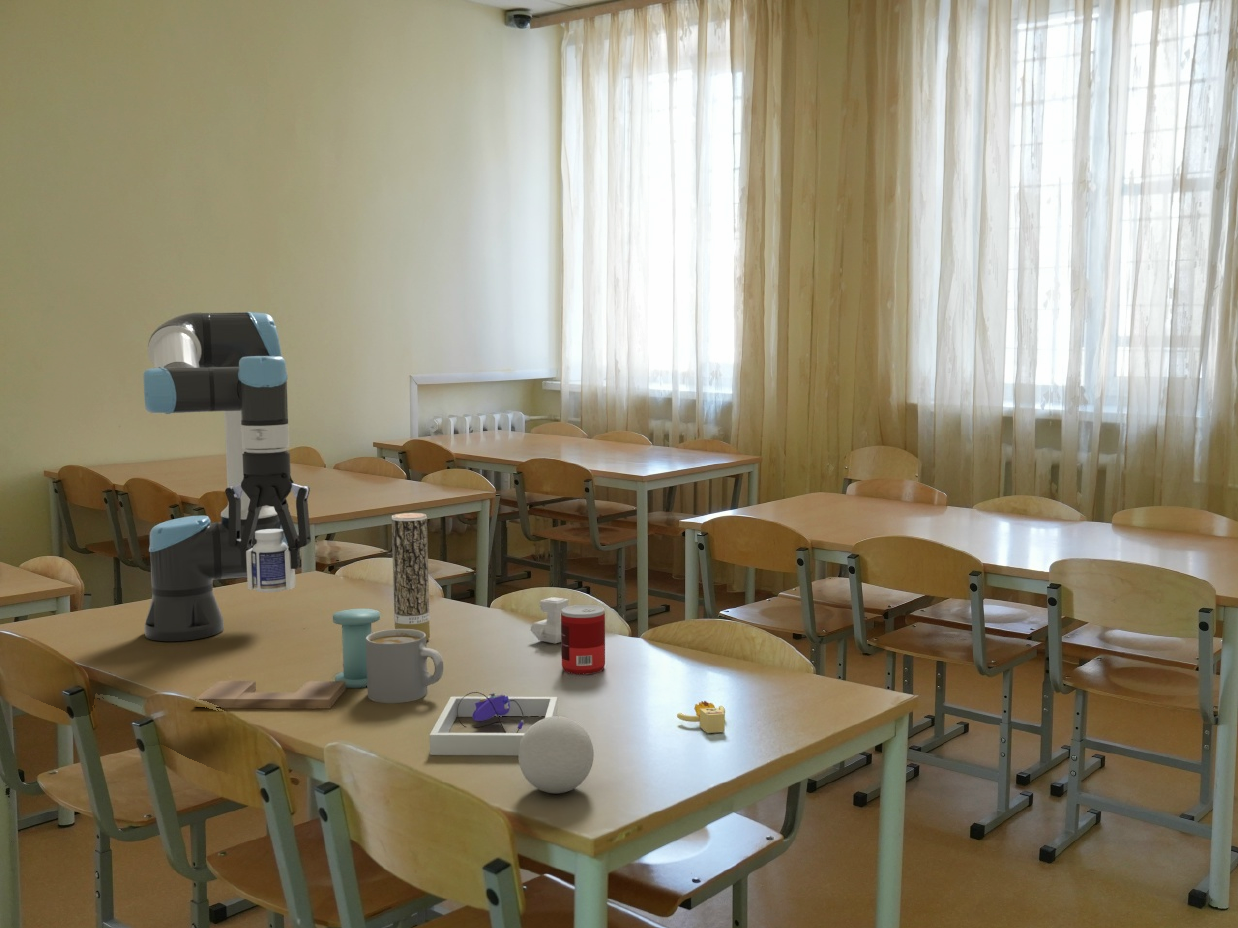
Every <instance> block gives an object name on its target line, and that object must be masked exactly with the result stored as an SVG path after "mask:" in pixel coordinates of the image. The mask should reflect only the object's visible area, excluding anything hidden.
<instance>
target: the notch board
mask: <svg viewBox="0 0 1238 928" xmlns="http://www.w3.org/2000/svg"><path fill="white" fill-rule="evenodd" d="M256 686H257V685H256V680H217V681H216V682H215V683H214V684H212V685H211V686H210V687H209V688H208V689H206V690H205V691H203V692H202V693H201V694H199V696H197V697H196V698H195V700H196V699H199V700H203V701H207V702H209V703H212V704H214V705H217V706H219V707H221V708H220V709H330V708H331V707H333V705H334V704H335V702H336V701H337V700H338V699H339V698H340V697H341V696H342V694H343V693H344V692H345V691H346V688H345V681H335V680H307V681H306V682H305V683H304V684H303V685H302V686H301V687H300V688H299V689H298V690H297V691H296V692H255V691H256V688H257V687H256Z"/></svg>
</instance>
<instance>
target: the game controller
mask: <svg viewBox="0 0 1238 928" xmlns="http://www.w3.org/2000/svg"><path fill="white" fill-rule="evenodd" d="M471 694H480V695H481V696H482V695H483V697H486V698H487V700H485V699H481V700H480V701H479V702H477V703H475V705H476V710H475V711H474V713H473V715H472V717H471V718H472V720H474V721H475V722H476V721H477V722H483V721H486V720H490V719H491V718H494V717H493V716H494V715H495V714H497V716H498V715H500V716H503V715H506V714H507V713H508V712H509V709H510V701H515V700H510V701H509V698H508V697H509V695H506V696H505V694H503V693H502V694H497V695H495V694H496V691H495V692H490V693H489V696H486V695H485V694H484V693H481V692H478V691H474V692H469V693H467V694H466V695H463V696H462V697H463V698H464V697H468V696H469V695H471ZM488 697H490V698H488ZM463 698H462V699H463ZM462 699H461V700H462ZM460 702H461V701H460ZM460 702H459V704H460ZM515 702H516V701H515ZM516 703H517V702H516ZM459 704H458V706H459ZM517 704H518V703H517ZM518 706H519V704H518ZM519 707H520V706H519ZM520 709H521V708H520ZM521 711H522V710H521ZM457 716H458V708H457ZM522 717H523V712H522ZM522 717H521V718H522ZM457 718H458V719H457V720H458V721H459V723H460V724H461V725H462V726H463V727H464V728H467V726H465V725H464V724H463V722H461V720H460V717H457ZM497 718H498V721H496V722H493V723H492V722H491V723H488V724H485V725H481V726H475V727H474V729H479V728H482V727H483V728H484V727H486V726H491V725H494V724H497V723H500V726H501V728H502V730H503V733H507V732H506V731H505V729H504V726H503V724H502V722H504V723H505V720H502V721H501V720H500V717H497ZM523 718H524V717H523ZM511 722H517V721H516V720H515V719H514V720H513V719H511ZM524 722H525V720H524V719H521V720H520V722H519V724H518V726H517V731H516V733H519V731H520V730H522V728H523V725H524Z"/></svg>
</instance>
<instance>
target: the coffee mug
mask: <svg viewBox="0 0 1238 928" xmlns="http://www.w3.org/2000/svg"><path fill="white" fill-rule="evenodd" d="M366 658H367V698H368V699H369V700H371V701H373V702H377V703H383V704H399V703H400V704H401V703H408V702H413V701H417V700H420V699H422V698H424V697H425V696H426V695H427V694H428V686H431V685H433V684H436V683H437V682H439V681H440V680H441V678H442V676H443V673H444V661H443V657H442V655H441V654H440V652H439V651H438V650H435V648H434V649H433V648H431V647H428V648H427V641H426V634H425V633H424V632H422V631H418V630H413V629H395V628H392V629H390V628H389V629H383V630H379V631H374V632H372V634H370V635H368V636H367V637H366ZM428 658H430V659H431V660H432V662H433V666H434V672H433V674H430V673H429V670H428V667H427V665H428V664H427V661H428Z"/></svg>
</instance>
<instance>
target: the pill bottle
mask: <svg viewBox="0 0 1238 928" xmlns="http://www.w3.org/2000/svg"><path fill="white" fill-rule="evenodd" d="M283 538H284V532H283V530H282V529H264V530H258V531H256V532H255V539H256V540H257V543H256V544H255V545H254V546H253V548H252V555H253V580H254V589H253V590H254V591H256V592H259V593H278V592H283V591H286V574H285V551H286V550H287V549H288V548H289V546H288V543H287V544H286V543H284V542H283Z"/></svg>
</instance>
